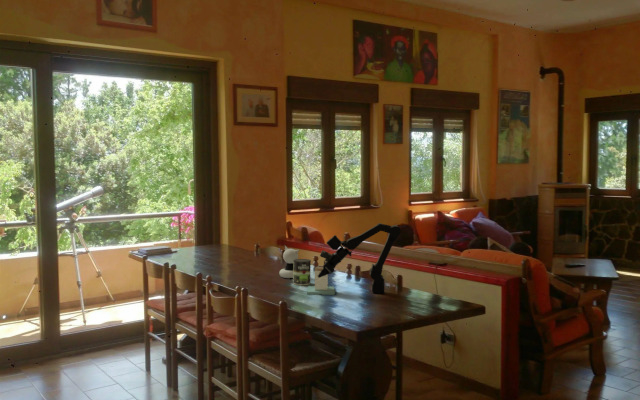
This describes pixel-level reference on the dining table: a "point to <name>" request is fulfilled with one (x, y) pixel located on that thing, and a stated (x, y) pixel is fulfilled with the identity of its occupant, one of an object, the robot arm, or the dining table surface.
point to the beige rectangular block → (320, 280)
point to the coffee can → (301, 271)
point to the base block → (321, 291)
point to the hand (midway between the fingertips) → (318, 275)
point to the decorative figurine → (289, 262)
